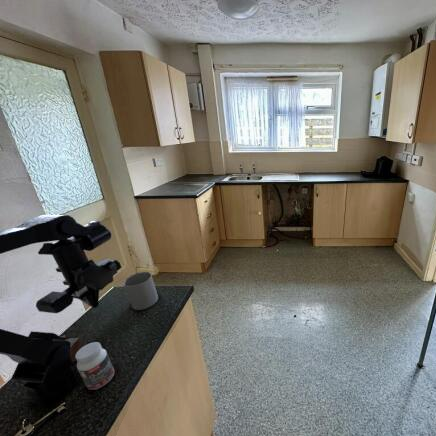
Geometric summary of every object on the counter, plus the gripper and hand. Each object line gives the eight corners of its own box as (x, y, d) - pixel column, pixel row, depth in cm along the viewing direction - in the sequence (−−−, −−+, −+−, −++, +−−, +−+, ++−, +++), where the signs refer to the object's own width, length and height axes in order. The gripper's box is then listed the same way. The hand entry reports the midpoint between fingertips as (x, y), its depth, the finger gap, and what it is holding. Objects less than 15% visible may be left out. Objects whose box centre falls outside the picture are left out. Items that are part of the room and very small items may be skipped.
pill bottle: (97, 393, 56) (82, 364, 53) (81, 386, 58) (65, 358, 54) (120, 371, 61) (108, 343, 58) (105, 365, 63) (91, 337, 59)
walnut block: (73, 363, 64) (66, 351, 62) (55, 365, 64) (49, 353, 62) (84, 348, 68) (79, 337, 67) (68, 350, 68) (62, 339, 66)
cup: (143, 312, 81) (135, 288, 77) (126, 307, 84) (117, 283, 80) (163, 296, 88) (156, 273, 85) (147, 292, 91) (139, 270, 87)
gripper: (60, 287, 51) (88, 338, 57) (128, 243, 68) (144, 287, 74) (19, 283, 53) (51, 333, 59) (95, 242, 70) (114, 284, 76)
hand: (95, 306), depth 67 cm, fingers closed
